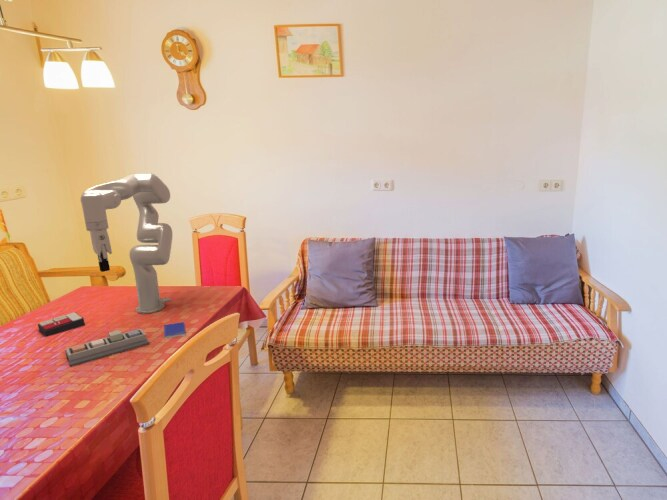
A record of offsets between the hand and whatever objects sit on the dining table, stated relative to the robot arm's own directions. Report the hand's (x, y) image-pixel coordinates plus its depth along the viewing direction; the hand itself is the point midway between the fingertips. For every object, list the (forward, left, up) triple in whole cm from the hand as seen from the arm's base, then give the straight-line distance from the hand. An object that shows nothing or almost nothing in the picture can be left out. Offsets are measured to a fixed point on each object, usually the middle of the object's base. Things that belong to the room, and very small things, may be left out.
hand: (105, 270), depth 169 cm
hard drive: (-21, +10, -30) cm, 38 cm away
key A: (+1, +9, -26) cm, 27 cm away
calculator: (+16, -27, -29) cm, 43 cm away
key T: (-5, +9, -28) cm, 29 cm away
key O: (+8, +9, -28) cm, 30 cm away
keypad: (+4, +9, -29) cm, 30 cm away
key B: (+14, +9, -28) cm, 32 cm away
